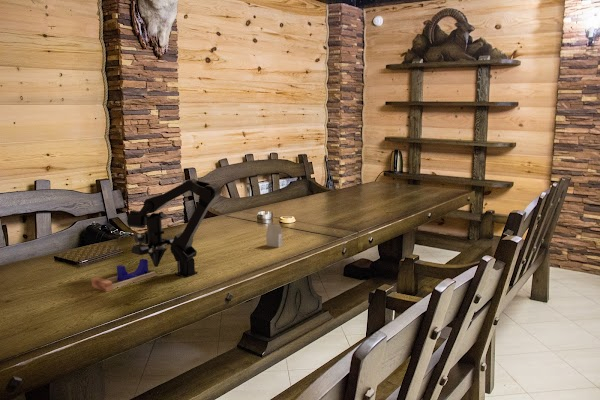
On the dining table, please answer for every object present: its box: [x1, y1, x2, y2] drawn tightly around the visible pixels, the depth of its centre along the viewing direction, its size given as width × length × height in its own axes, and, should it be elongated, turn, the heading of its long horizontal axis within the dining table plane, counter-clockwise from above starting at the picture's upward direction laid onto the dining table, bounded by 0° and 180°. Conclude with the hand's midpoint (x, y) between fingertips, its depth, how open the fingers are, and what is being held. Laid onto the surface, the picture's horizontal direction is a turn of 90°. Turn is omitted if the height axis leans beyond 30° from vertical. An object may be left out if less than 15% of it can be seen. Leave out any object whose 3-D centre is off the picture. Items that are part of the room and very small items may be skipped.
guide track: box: [91, 270, 157, 292], centre depth 207 cm, size 9×22×3 cm, turn 144°
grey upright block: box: [265, 223, 284, 248], centre depth 258 cm, size 4×7×10 cm, turn 61°
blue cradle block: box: [116, 258, 149, 282], centre depth 211 cm, size 12×4×6 cm, turn 143°
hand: (156, 266), depth 219 cm, fingers closed
